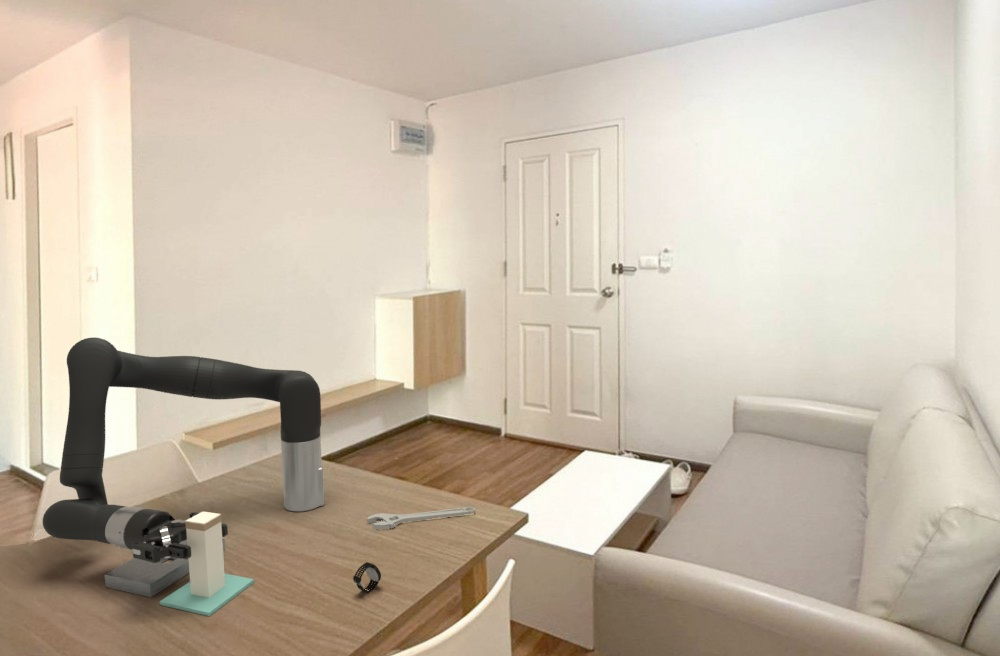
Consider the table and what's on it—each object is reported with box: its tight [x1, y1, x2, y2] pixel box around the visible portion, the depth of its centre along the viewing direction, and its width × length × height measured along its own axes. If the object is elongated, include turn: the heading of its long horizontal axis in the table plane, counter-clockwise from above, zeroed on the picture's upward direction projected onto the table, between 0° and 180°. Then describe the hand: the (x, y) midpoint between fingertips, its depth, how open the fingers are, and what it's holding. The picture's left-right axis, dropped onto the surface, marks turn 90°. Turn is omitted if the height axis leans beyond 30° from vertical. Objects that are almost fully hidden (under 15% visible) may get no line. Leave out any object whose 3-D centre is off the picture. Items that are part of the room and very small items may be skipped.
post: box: [185, 511, 226, 598], centre depth 107 cm, size 4×4×14 cm
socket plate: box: [104, 537, 226, 598], centre depth 116 cm, size 18×11×2 cm, turn 162°
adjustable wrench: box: [366, 506, 476, 531], centre depth 137 cm, size 25×6×2 cm, turn 101°
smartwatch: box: [352, 561, 382, 594], centre depth 108 cm, size 4×5×5 cm
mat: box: [159, 573, 255, 617], centre depth 107 cm, size 11×11×1 cm
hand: (208, 541), depth 106 cm, fingers open, 8 cm apart
